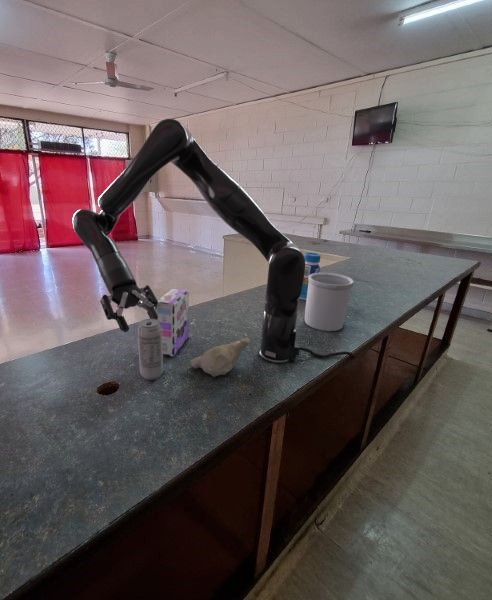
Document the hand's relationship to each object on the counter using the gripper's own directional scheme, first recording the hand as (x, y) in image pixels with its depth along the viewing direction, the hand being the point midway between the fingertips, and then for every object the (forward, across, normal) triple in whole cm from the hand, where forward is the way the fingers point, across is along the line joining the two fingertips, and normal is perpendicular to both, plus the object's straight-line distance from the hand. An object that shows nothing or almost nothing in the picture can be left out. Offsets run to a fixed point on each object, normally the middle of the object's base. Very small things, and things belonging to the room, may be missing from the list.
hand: (141, 326), depth 81 cm
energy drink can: (+12, 0, +7) cm, 13 cm away
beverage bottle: (+9, +87, +10) cm, 88 cm away
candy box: (+5, +14, +13) cm, 20 cm away
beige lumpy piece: (+19, +17, 0) cm, 25 cm away
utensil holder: (+22, +66, -4) cm, 70 cm away
